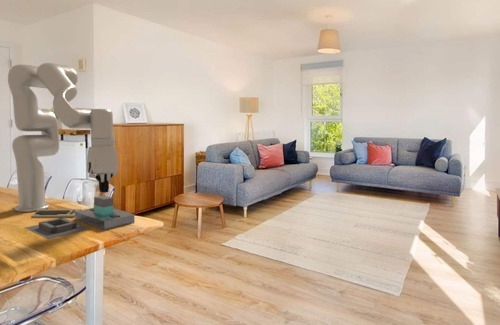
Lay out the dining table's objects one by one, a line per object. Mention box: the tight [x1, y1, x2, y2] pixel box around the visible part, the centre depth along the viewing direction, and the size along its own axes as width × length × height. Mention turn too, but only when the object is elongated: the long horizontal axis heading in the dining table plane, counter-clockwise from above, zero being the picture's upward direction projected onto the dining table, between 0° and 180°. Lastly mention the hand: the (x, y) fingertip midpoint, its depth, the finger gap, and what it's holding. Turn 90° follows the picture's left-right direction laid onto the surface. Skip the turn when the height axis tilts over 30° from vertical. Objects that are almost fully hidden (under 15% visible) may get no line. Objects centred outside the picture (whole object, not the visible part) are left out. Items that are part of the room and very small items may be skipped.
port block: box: [74, 207, 135, 231], centre depth 127 cm, size 20×12×4 cm, turn 54°
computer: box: [30, 208, 82, 219], centre depth 133 cm, size 16×8×3 cm, turn 97°
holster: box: [24, 217, 92, 240], centre depth 117 cm, size 18×14×3 cm
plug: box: [93, 195, 114, 216], centre depth 127 cm, size 6×4×10 cm, turn 55°
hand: (104, 191), depth 126 cm, fingers closed
